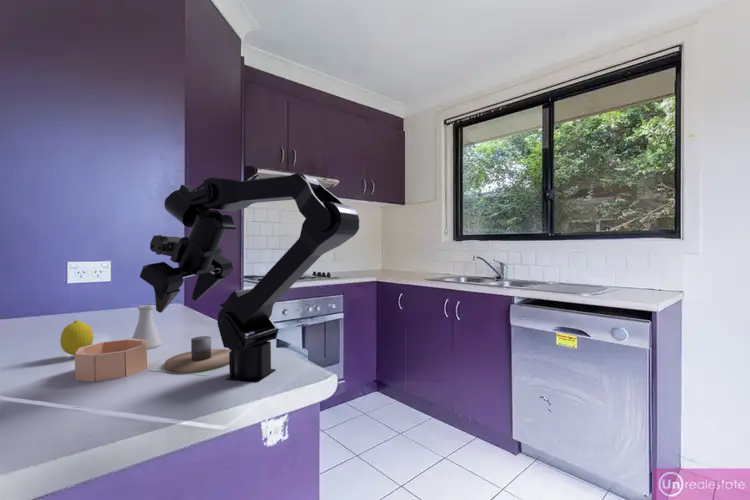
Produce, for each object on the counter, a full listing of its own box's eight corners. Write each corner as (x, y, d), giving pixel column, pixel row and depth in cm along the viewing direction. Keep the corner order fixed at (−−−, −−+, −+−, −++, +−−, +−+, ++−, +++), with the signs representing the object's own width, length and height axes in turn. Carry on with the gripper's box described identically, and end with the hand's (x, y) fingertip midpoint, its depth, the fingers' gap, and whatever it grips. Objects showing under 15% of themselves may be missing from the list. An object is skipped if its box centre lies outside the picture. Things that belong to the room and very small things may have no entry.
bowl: (160, 365, 74) (159, 340, 74) (109, 385, 63) (108, 356, 63) (117, 361, 76) (116, 337, 76) (61, 380, 66) (61, 352, 66)
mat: (248, 357, 79) (248, 354, 79) (206, 378, 66) (206, 375, 66) (197, 352, 82) (197, 350, 82) (148, 372, 70) (148, 370, 70)
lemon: (75, 361, 77) (74, 323, 77) (53, 360, 78) (53, 322, 78) (100, 354, 82) (99, 318, 82) (79, 352, 83) (78, 317, 83)
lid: (248, 354, 79) (248, 332, 79) (206, 375, 66) (206, 349, 66) (197, 350, 82) (197, 329, 82) (148, 370, 70) (147, 345, 70)
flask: (170, 347, 88) (169, 305, 87) (137, 354, 81) (136, 309, 81) (154, 342, 91) (153, 302, 91) (121, 350, 85) (121, 307, 85)
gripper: (206, 217, 82) (182, 276, 85) (130, 220, 64) (104, 295, 68) (245, 242, 80) (219, 301, 83) (179, 252, 62) (149, 327, 66)
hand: (177, 305), depth 75 cm, fingers open, 9 cm apart
